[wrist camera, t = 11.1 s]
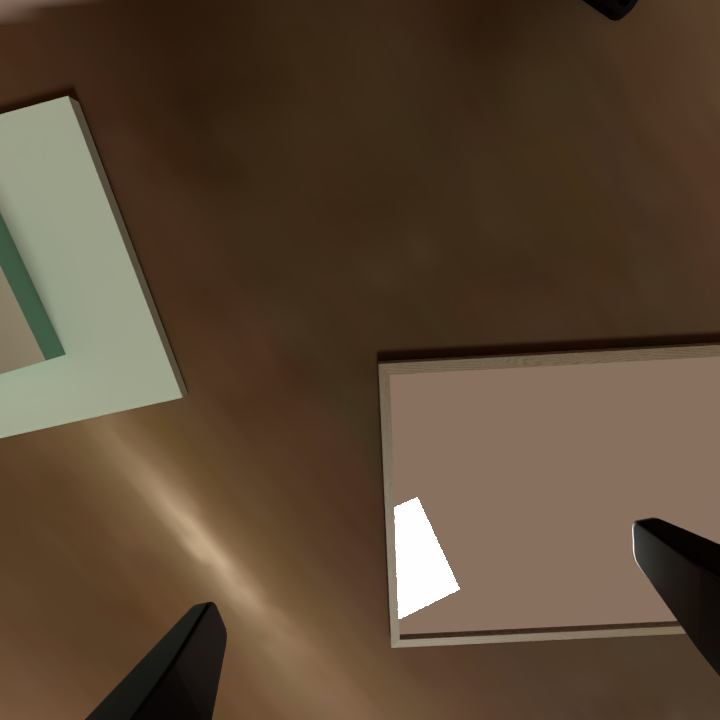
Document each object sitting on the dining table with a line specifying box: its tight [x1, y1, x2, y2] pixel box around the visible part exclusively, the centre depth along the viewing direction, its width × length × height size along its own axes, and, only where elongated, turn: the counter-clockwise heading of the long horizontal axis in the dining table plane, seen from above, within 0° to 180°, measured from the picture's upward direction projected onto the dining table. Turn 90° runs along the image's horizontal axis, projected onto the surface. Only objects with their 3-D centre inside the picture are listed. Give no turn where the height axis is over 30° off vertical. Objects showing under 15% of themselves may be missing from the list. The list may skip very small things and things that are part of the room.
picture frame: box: [378, 342, 720, 648], centre depth 21 cm, size 19×1×28 cm
